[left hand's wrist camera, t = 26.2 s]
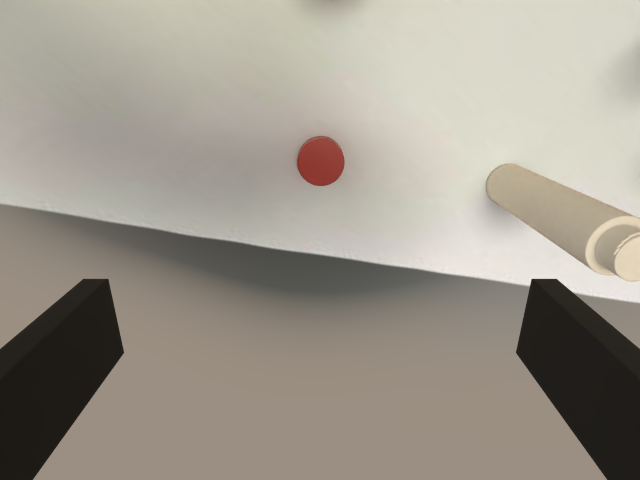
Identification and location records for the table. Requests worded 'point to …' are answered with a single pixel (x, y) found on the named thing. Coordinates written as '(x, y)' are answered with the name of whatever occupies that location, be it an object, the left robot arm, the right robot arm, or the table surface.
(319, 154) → the lid
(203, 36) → the table surface
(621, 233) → the white cylindrical bottle
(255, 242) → the table surface
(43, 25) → the table surface
